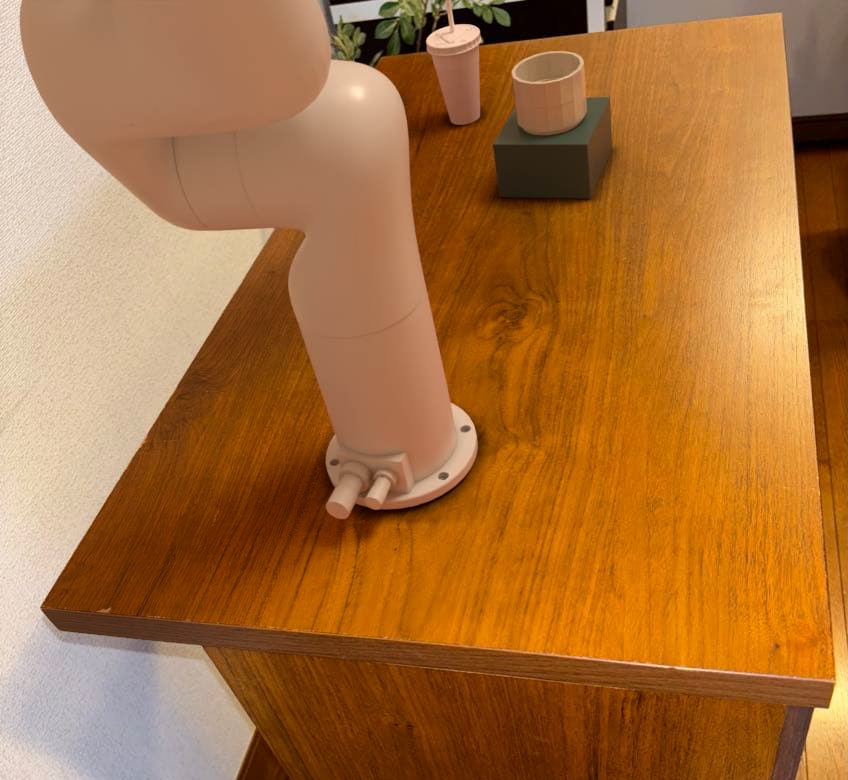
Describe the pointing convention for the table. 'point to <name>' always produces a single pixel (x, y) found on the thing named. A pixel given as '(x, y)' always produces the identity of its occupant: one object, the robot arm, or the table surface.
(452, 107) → the smoothie
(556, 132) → the cup
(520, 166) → the stand
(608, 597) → the table surface
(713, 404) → the table surface
